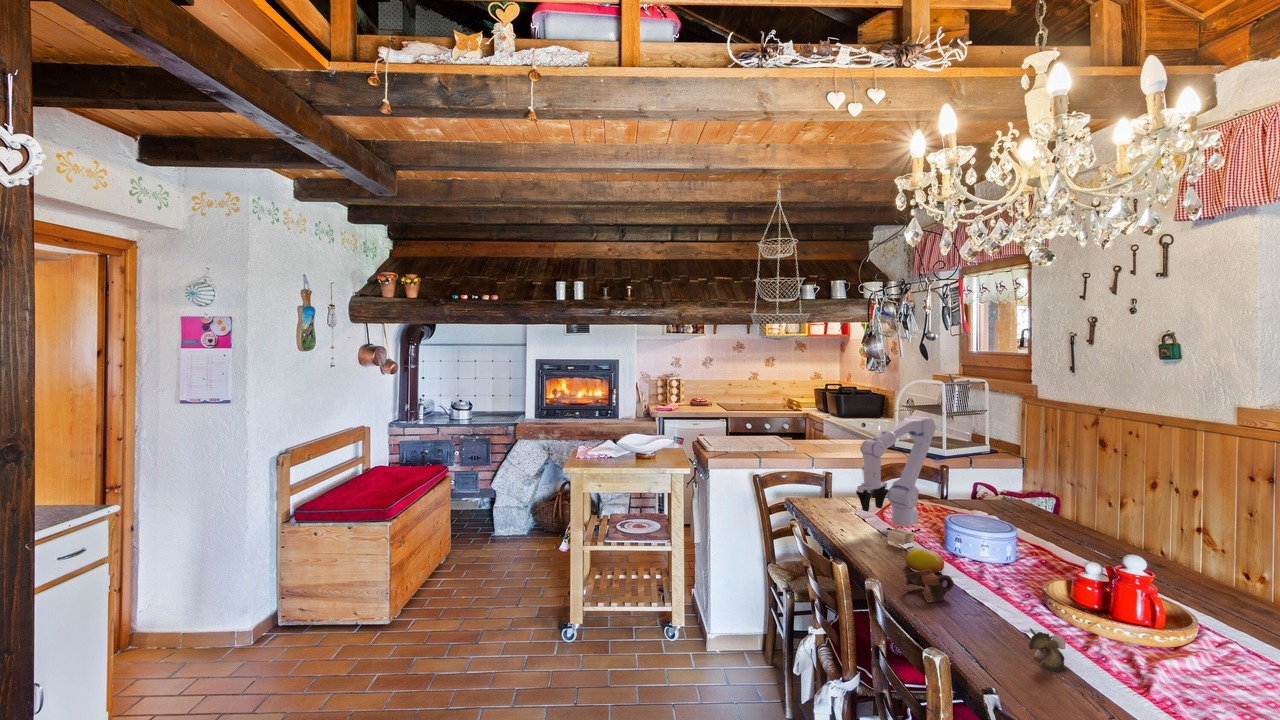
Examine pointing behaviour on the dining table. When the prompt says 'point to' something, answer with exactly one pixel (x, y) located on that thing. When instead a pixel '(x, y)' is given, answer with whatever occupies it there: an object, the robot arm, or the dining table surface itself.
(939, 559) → the fruit
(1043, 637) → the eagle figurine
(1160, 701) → the dining table surface
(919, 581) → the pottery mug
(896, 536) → the ash block
